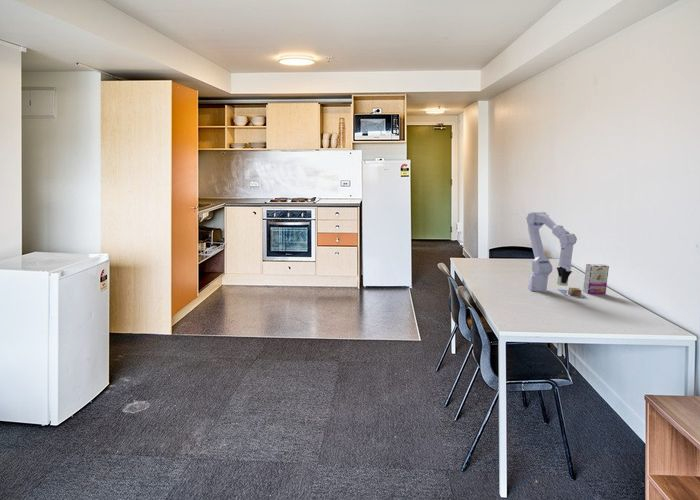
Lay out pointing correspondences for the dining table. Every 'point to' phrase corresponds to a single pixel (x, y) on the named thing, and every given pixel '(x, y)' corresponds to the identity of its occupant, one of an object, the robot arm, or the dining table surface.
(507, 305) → the dining table surface
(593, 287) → the candy bar box
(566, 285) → the sage cube
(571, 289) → the brown block
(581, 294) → the blueprint mat
